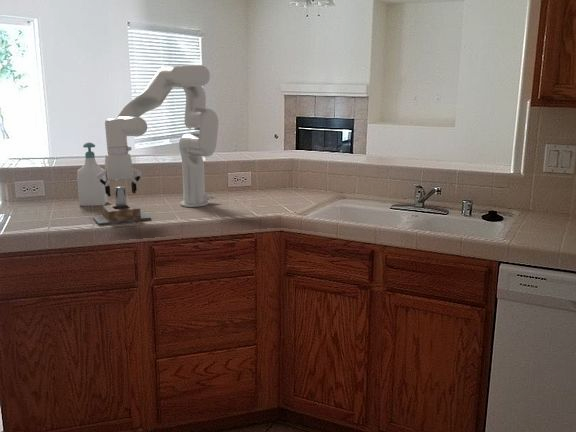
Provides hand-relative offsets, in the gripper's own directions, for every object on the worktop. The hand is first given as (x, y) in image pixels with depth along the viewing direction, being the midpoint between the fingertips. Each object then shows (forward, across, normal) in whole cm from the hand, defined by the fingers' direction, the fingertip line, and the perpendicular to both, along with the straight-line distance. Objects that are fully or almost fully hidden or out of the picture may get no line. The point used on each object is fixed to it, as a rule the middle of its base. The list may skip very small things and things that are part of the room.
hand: (121, 194), depth 214 cm
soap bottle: (+10, +5, -36) cm, 38 cm away
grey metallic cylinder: (+9, +1, 0) cm, 9 cm away
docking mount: (+10, +1, 0) cm, 10 cm away
